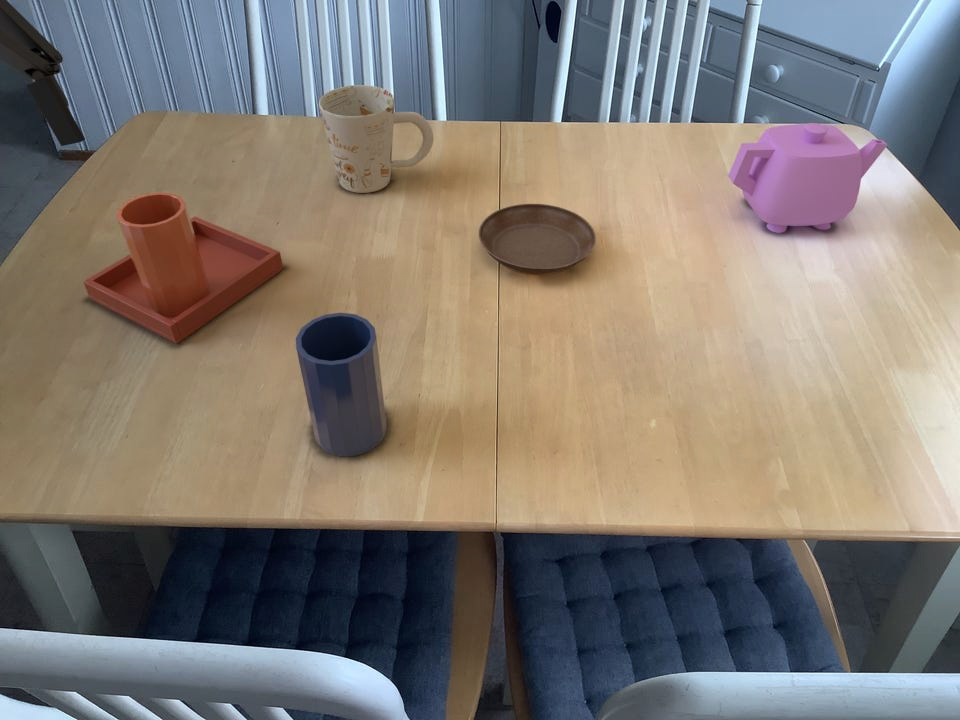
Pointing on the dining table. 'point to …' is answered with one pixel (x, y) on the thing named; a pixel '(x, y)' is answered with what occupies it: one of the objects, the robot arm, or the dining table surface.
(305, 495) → the dining table surface
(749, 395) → the dining table surface
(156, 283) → the terracotta tumbler
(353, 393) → the blue tumbler
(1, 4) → the robot arm
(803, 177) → the teapot
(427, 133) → the mug
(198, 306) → the red tray
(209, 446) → the dining table surface
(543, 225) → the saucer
